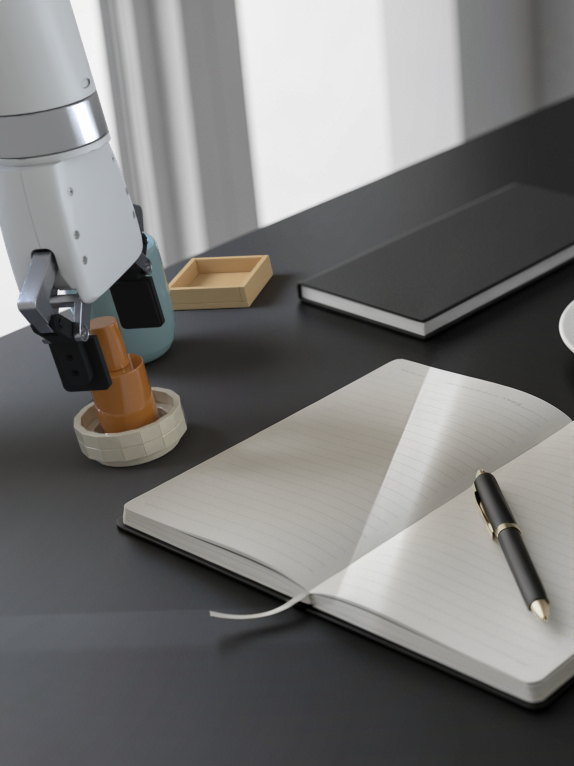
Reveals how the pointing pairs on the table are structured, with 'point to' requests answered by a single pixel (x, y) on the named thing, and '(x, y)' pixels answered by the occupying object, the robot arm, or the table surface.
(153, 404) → the bottle
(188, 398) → the table surface
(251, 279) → the tray
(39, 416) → the table surface
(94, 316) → the cup
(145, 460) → the bowl
